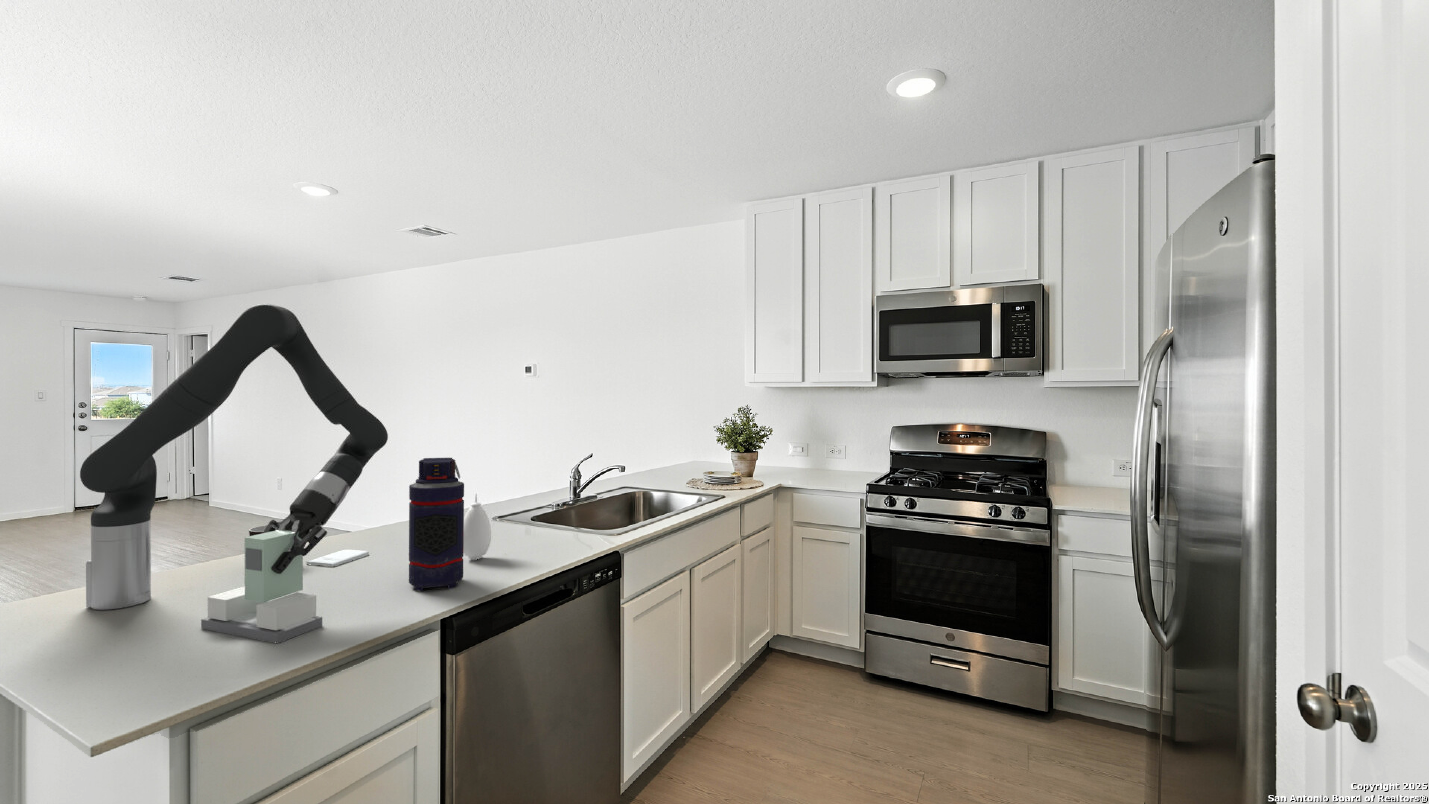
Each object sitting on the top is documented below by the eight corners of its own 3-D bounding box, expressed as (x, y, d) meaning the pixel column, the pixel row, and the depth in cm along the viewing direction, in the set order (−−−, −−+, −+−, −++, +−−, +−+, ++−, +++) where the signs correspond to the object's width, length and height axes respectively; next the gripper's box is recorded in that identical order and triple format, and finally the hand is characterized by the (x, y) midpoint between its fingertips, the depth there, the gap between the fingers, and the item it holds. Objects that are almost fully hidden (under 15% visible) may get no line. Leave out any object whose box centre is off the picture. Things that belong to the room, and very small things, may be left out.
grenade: (463, 589, 146) (464, 461, 146) (406, 594, 142) (407, 462, 141) (463, 572, 159) (464, 454, 158) (411, 577, 155) (412, 455, 154)
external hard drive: (368, 556, 174) (332, 569, 162) (343, 554, 176) (305, 566, 164) (368, 551, 174) (332, 563, 162) (343, 548, 176) (306, 560, 164)
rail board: (201, 628, 121) (201, 597, 121) (248, 612, 129) (248, 583, 129) (277, 643, 114) (277, 610, 114) (322, 626, 123) (322, 595, 123)
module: (243, 599, 121) (243, 537, 121) (284, 586, 129) (284, 528, 128) (262, 602, 119) (262, 539, 119) (302, 589, 127) (302, 530, 127)
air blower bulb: (495, 556, 175) (496, 491, 175) (482, 563, 167) (483, 496, 167) (468, 554, 176) (469, 490, 175) (454, 562, 168) (455, 495, 168)
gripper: (283, 485, 133) (224, 556, 122) (335, 490, 128) (278, 564, 117) (306, 506, 138) (251, 575, 127) (357, 511, 134) (305, 584, 122)
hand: (265, 569), depth 122 cm, fingers closed on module, 5 cm apart
